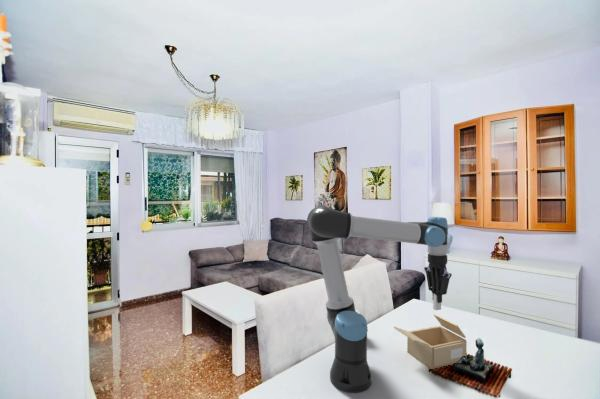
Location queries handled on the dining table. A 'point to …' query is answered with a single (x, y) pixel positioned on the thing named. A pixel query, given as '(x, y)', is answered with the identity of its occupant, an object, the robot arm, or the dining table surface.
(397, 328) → the near flap
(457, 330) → the far flap
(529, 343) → the dining table surface
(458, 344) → the carton
